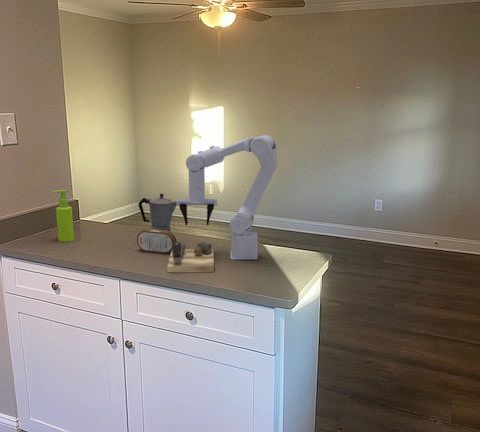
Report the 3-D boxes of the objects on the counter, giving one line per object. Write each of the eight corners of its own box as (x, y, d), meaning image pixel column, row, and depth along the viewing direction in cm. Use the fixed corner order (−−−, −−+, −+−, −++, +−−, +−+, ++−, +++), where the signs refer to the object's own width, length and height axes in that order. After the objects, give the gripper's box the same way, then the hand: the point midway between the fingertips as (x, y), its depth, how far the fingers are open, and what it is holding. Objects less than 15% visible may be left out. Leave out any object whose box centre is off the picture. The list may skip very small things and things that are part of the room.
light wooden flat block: (172, 254, 179) (171, 239, 178) (213, 254, 180) (213, 239, 179) (167, 272, 161) (167, 256, 159) (213, 271, 162) (213, 255, 160)
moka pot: (177, 248, 187) (176, 196, 182) (136, 247, 187) (134, 195, 182) (180, 241, 196) (180, 191, 191) (142, 240, 196) (140, 191, 192)
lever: (173, 249, 177) (173, 230, 176) (186, 249, 177) (185, 230, 176) (169, 265, 160) (169, 244, 158) (183, 265, 160) (183, 244, 158)
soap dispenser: (54, 238, 197) (51, 189, 193) (73, 237, 200) (69, 188, 196) (56, 242, 192) (52, 192, 188) (74, 240, 195) (71, 191, 190)
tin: (177, 252, 181) (176, 230, 179) (173, 255, 178) (173, 232, 176) (140, 248, 185) (139, 227, 184) (136, 251, 182) (135, 229, 181)
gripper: (175, 189, 173) (176, 227, 176) (217, 189, 174) (217, 227, 177) (176, 186, 180) (177, 222, 183) (216, 186, 180) (216, 222, 184)
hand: (197, 224), depth 180 cm, fingers open, 7 cm apart
